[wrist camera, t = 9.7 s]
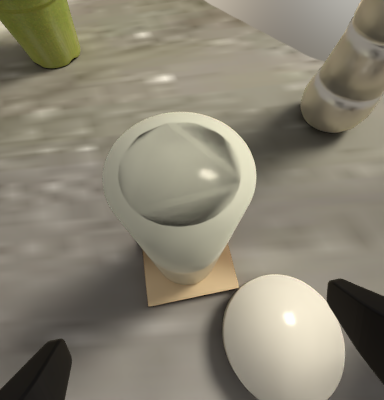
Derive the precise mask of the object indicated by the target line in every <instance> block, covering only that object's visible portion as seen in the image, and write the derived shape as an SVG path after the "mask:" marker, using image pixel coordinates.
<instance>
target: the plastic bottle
mask: <svg viewBox="0 0 384 400" xmlns="http://www.w3.org/2000/svg"><path fill="white" fill-rule="evenodd" d="M383 94H384V0H361V2H360V4H359V5H358V7H357V9H356V11H355V13H354V17H353V18H352V19H351V21H350V23H349V25H348V27H347V29H346V31H345V32H344V34H343V36H342V37H341V39H340V40H339V42H338V43H337V45H336V46H335V48H334V49H333V51H332V52H331V54H330V55H329V57H328V58H327V60H326V61H325V63H324V64H323V66H322V67H321V68H320V69H319V70H318V71H317V73H316V74H315V75H314V76H313V78H312V79H311V81H310V82H309V83H308V85H307V86H306V88H305V90H304V93H303V96H302V99H301V104H300V106H301V112H302V115H303V117H304V119H305V121H306V122H307V123H308V124H309V125H311V126H312V127H314V128H316V129H318V130H320V131H323V132H328V133H338V132H342V131H346V130H350V129H352V128H354V127H355V126H357V125H358V124H359V123H361V122H362V121H363V120H364V119H366V118H367V117H368V116H369V115H370V114H371V112H372V111H373V109H374V108H375V107H376V105H377V104H378V102H379V101H380V99H381V98H382V96H383Z"/></svg>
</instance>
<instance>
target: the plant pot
mask: <svg viewBox="0 0 384 400" xmlns="http://www.w3.org/2000/svg"><path fill="white" fill-rule="evenodd" d="M0 21H1V22H2V23H3V24H4V26H5V27H6V28H7V29H8V30H9V32H10V33H11V34H12V35H13V37H14V38H15V39H16V40H17V42H18V43H19V44H20V45H21V46H22V48H23V49H24V50H25V51H26V53H27V54H28V55H29V56H30V58H31V59H32V60H33V61H34V62H35V63H37V64H39V65H41V66H42V67H45V68H58V67H62V66H65V65H68V64H69V63H70V61H71V60H72V59H73V58H77V57H78V56H79V54H80V45H79V42H78V38H77V35H76V31H75V28H74V24H73V21H72V17H71V14H70V10H69V6H68V3H67V0H0Z"/></svg>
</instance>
